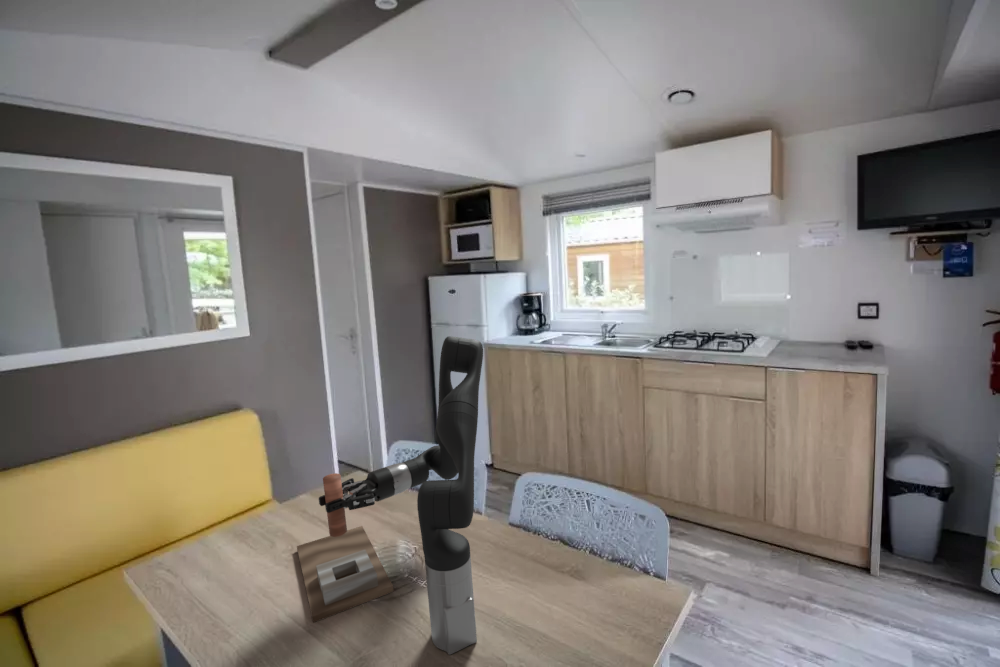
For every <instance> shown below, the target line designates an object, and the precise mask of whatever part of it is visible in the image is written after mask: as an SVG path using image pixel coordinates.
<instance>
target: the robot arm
mask: <svg viewBox="0 0 1000 667" xmlns="http://www.w3.org/2000/svg"><path fill="white" fill-rule="evenodd" d="M440 351H441V352H440V356H439V357H440V359H439V371H438V372H439V375H438V409H437V417H436V423H435V431H434V439H435V442H436V443H437V445H434V446H433V445H432V446H431V447H428V449H425V451H423V452H422V453H421V452H420V454H419V455H417V456H416V457H414V458H411V459H408V460H406V461H401V462H398V463H393V464H389V465H387V466H383V467H382V468H378V469H375V470H372V471H370V472H368V474H367V476H366V478H365V479H364V480H358V481H355V479H354V478H349V479H347V480H345V481H343V482H341V483H342V491H343V498H342V499H341V498H339V499H336V500H333V501H331V502H328V503H326V501H325V494H324V495H320V496H319V497H318V505H320V507H323V506H325V512H326V514H327V513H330V512H332V511H335V510H338V509H340V508H344V509H348V510H349V511H353V510H359V509H363V508H366V507H371V506H374V505H375V502H381V501H383V500H386V499H389V498H390V497H394V496H396V495H399V494H401V493H403V492H405V491H407V490H409V489H412V488H415V487H416V486H419V489H418V492H417V498H416V499H417V500H416V501H417V504H416V506H417V515H418V521H419V522H418V523H419V529H420V536H421V543H422V545H421V546H422V550H423V555H424V565H425V566H424V567H425V577H426V578H425V579H426V589H427V600H428V612H429V622H430V633H431V641H432V643H433V644H434V646H435V647H436V648H438V649H440V650H441V651H445V652H446V653H447V654H448V655H452V654H455V653H456V652H458V651H460V650H463V649H465V648H466V647H468V646H469V647H470V646H471V645H474V644H476V643H477V640H478V639H477V624H476V611H475V596H474V586H473V572H472V571H473V570H472V558H471V547H470V546H471V545H470V543H469V540H468V539H467V537H466V536H464V535H463V534H461V533H459V532H456V531H454V530H459V529H466V528H468V527H469V526H470V525H471V524H472V521H473V517H474V509H475V452H476V442H477V432H478V423H479V420H478V418H479V390H480V380H481V375H482V374H481V373H482V369H483V368H482V366H483V360H484V347H483V344H482V343H481V341H479V340H478V339H477V340H476V339H472V338H465V337H459V336H452V335H451V336H446V337H445V338H444V340H443V342H442V347H441V350H440ZM451 372H454V373H460V374H461V373H462V374H466V375H465V376H464V378H463V379H462V381H461V382H459V384H458V385H457V386H455V387H453V385H452V380H451V379H452V378H451V377H452V376H451V375H452V374H451ZM430 471H434V473H435V474H437V476H439V477H440V478H441V479H442V480H441V479H439V480H437V479H435V480H434V479H433V480H428V479H429V477H430ZM456 476H457V479H454V478H455V477H456ZM452 529H453V530H452Z"/></svg>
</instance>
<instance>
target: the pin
mask: <svg viewBox="0 0 1000 667" xmlns="http://www.w3.org/2000/svg"><path fill="white" fill-rule="evenodd" d="M342 483H343V482H342V475H341V474H340V473H329V474H327V475H325V476H323V478H322V484H323V492H324V495H325V501H326V503H328V502H331V501H333V500H336V499H339V498H341V499H342V498H343V495H344V494H343V491H342ZM345 509H346V508H340V509H338V510H335V511H332V512H330V513H327V512H326V515H327V524H328V532H329V534H328V535H329V536H332V537H338V536H341V535H343V534H345V533H346V532H347V530H348V527H347V521H346V520H347V518H346V511H345Z"/></svg>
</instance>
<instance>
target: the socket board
mask: <svg viewBox="0 0 1000 667" xmlns="http://www.w3.org/2000/svg"><path fill="white" fill-rule="evenodd" d="M296 550H297V555H298V560H299V564H300V568H301V573H302V578H303V583H304V586H305V587H304V588H305V591H306V596H307V601H308V605H309V610H310V615H311V619H312V623H316V622H318V621H322V620H324V619H326V618H330V617H331V616H334V615H336V614H339V613H341V612H344V611H348V610H350V609H352V608H354V607H355V608H356V607H358V606H360V605H362V604H366V603H367V602H368V603H369V602H370V601H373V600H376V599H378V598H380V597H381V598H382V597H383V596H385V595H388V593H389V594H391V593H393V591H394V585H393V583H392V581H391V579H390V577H389V575H388V574H387V571H386V569H385V568H384V565H383V564H382V562H381V560H380V557H379V556H378V553H377V552H376V549H375V548H374V546H373V544H372V542H371V541H370V538H369V537H368V534H367V533H366V530H365V528H364V527H363V525H361V526H357V527H354V528H351V529H347V532H346V533H345V534H343V535H341V536H338V537H332V536H330V535H328V536H325V537H322V538H319V539H315V540H312V541H309V542H305V543H302V544H299V545H296ZM390 592H391V593H390Z"/></svg>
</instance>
